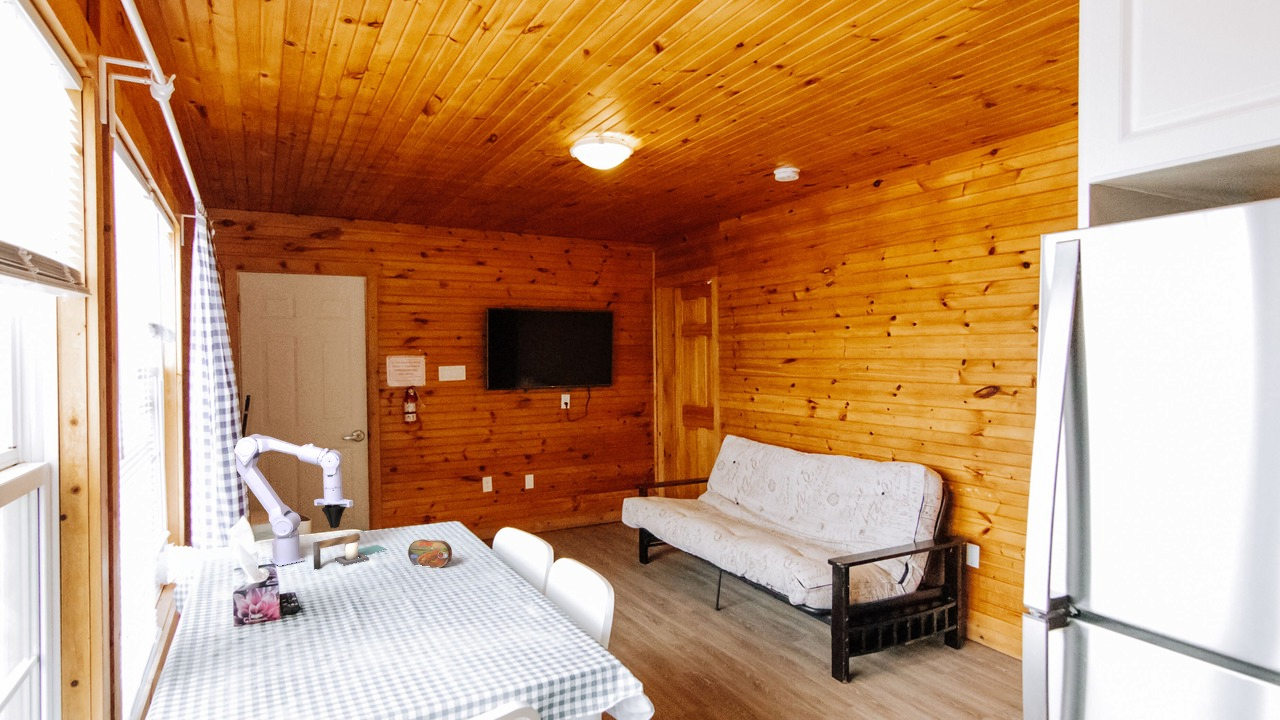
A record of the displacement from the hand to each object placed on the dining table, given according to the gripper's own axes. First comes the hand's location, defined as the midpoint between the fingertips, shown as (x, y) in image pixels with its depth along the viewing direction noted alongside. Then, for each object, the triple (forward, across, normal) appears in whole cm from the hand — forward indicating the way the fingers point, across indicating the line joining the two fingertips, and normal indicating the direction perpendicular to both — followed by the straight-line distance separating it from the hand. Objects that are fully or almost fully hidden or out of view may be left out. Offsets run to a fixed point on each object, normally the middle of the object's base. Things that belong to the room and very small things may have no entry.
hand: (334, 527), depth 227 cm
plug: (+11, +7, -1) cm, 13 cm away
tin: (+11, +36, +2) cm, 38 cm away
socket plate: (+10, +7, -1) cm, 13 cm away
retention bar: (+10, +5, -5) cm, 13 cm away
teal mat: (+11, +6, +10) cm, 16 cm away
